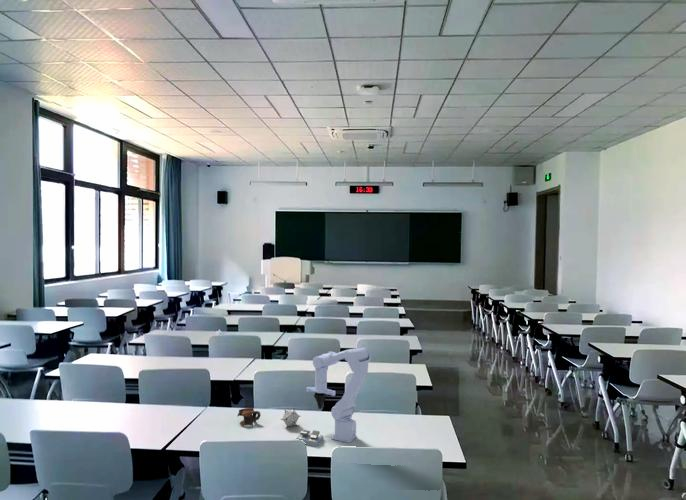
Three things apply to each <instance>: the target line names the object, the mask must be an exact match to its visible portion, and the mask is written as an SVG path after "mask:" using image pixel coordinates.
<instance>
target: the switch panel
mask: <svg viewBox="0 0 686 500" xmlns="http://www.w3.org/2000/svg"><path fill="white" fill-rule="evenodd" d="M311 434H312V432H310V433H309V434H308V435H306V436H305V435H300V434H299V435H298V436H297V437H296V438H295V440H296V439H299V440H303V441H304V442H305V443H306V444H305V445H308V446H312V447H316V446H317V447H318V446H319V445H320V443H321V442H323V441H324V435H322V434H319V435H318V437H317V439H311V438H310V436H311Z"/></svg>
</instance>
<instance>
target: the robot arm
mask: <svg viewBox="0 0 686 500" xmlns="http://www.w3.org/2000/svg"><path fill="white" fill-rule="evenodd" d="M340 360H345V362H347V364H348V365H349V368H350V370H351V372H353V373H352V377H351V378H350V381H349V383H348V385H347V387H346V389H345V391H344V393H343V395H342V397H341V398H340V400H338V401H337V402H336V403H335V405H334V406H332V408H331V410H330V412H331V416H332V418H333V420H334V435H332V437H331V440H335V441H340V442H344V443H350V444H351V443H352V442H353V441H354V439H355V438H357V421H356V420H355V419H353V418H352V416H353V415H354V413H355V408H356V406H357V404H356V403H355V400H356V398H357V396H358V394H359V392H360V390H361V388H362V386H363V383H364V382H365V379H366V377H367V376H368V372H369V363H370V361H371V360H372V357H371V353H370V351H369V349H368V348H366V347H364V346H363V347H355V348H349V349H345V350H342V351H340V352H335V351H332V350H330V351H327V353H322V354H321V355H317V356H314V357H313V358H312V365H313V367H314V369H315V370H314V386H307V387H306V388H305V389H306V390H305V391H306V393H314V394H313V397H314V399H315V402H316V403H317V408H318V410H322V409H323V407H324V403H325V401H326V398H327V397H328V396H332V397H335V396H336V390H332V389H329V388H327V387H328V386H327V385H328V370H329V367H330V366H333V365H336V364H337V363H338V362H339V361H340Z"/></svg>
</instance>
